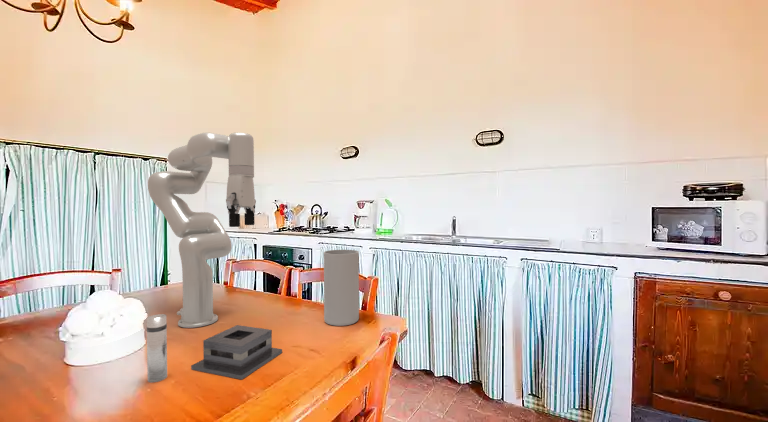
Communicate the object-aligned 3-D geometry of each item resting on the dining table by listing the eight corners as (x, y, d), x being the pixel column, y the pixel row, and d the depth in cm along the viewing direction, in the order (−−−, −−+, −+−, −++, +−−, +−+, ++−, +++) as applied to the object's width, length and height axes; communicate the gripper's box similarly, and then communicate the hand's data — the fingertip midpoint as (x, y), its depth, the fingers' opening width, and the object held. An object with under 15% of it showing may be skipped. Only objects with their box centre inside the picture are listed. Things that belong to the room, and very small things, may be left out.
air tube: (143, 380, 82) (142, 318, 82) (159, 372, 86) (158, 313, 86) (155, 383, 81) (154, 320, 81) (171, 375, 85) (170, 315, 85)
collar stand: (191, 369, 88) (190, 342, 88) (236, 345, 103) (236, 322, 103) (241, 379, 83) (241, 350, 83) (282, 352, 98) (282, 328, 98)
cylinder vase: (344, 329, 116) (344, 255, 116) (316, 322, 123) (316, 252, 123) (365, 318, 127) (365, 251, 127) (339, 313, 134) (338, 248, 133)
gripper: (243, 175, 119) (244, 224, 119) (214, 169, 102) (215, 227, 102) (264, 174, 119) (265, 224, 119) (239, 169, 101) (240, 227, 102)
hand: (242, 225), depth 111 cm, fingers open, 9 cm apart
